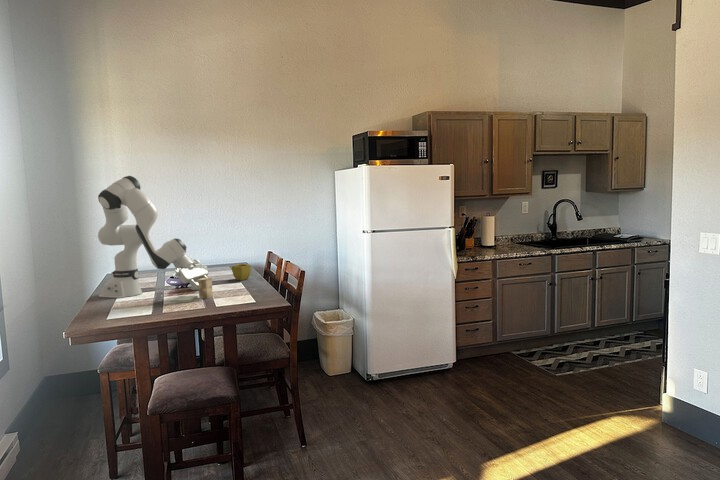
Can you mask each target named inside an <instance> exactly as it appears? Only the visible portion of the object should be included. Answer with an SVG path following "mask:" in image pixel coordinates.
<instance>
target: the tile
mask: <svg viewBox="0 0 720 480" xmlns="http://www.w3.org/2000/svg"><path fill="white" fill-rule="evenodd" d="M196 299H199V295H179V296H177V297H174V298H173V299H171V300H170V302H171V303H190V302H192V301H194V300H196Z"/></svg>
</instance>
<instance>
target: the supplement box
mask: <svg viewBox="0 0 720 480" xmlns="http://www.w3.org/2000/svg"><path fill="white" fill-rule="evenodd" d="M203 266H204V267H205V268H206V269H207V270H208V266H207V265H203ZM207 278H209V274H208V275H207ZM198 280H199V279H198ZM198 280H195V281H194V282H196V283H198ZM190 287H191V288H190V289H191V290H192V291H199V288H198V287H195V286H194V285H192V284H190Z"/></svg>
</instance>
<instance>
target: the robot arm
mask: <svg viewBox="0 0 720 480" xmlns="http://www.w3.org/2000/svg"><path fill="white" fill-rule="evenodd" d="M97 200H98V202H99V204H100V205H101V207H102V210H103V213H104V216H105V224H104V225H103V226H102V227H101V228H100V229H99V230H98V232H97V238H98V241H99V242H100V243H101V244H102V245H105V246H124V248H123V250H121V251H119V252H117V253H116V254H115V256H114V270H113V271H112V272H111V275H112V277H111V278H110V279H108V281H107V282H105V284H104V285H103V287H102V293H100V294H99V295H98V298H111V299H113V298H114V299H122V298H127V297H132V296H133V297H134V296H139V295H141V294H142V293H143V291H142V288H141V286H140V281H139V271H138V270H139V269H138V267H137V266H138V265H137V255H138V250H139V249H140V247H141V246H143V247H144V248H145V251H146V253H147V254H148V257H149V259H150V261H151V264H152V266H154V267H155V268H156V269H157V270H167V268H168V267H169V266H170V265H172V264H173V266H174V268H175V269H174V272H175V274H176V276H177V278H178V279H179V280H180V282H181V283H183V284H188V283H189V284H190V285H191V284H192V285H194V286H195V287H198V286H199V284H198V283H196V282H194V281H195V280H198V279H202V278H207V275H208V276H209V271H208V268H207V269H206V268H205V267H204V266H205V265H203V264H202V263H201V262H200V260H199V259H195V258H190V257H189V256H188V255H186V253H187V249H188V248H187V245H186V244H185V243H184V242H183V241H182V240H181V239H180V238H172V239H170V240H168V241H165V242H164V243H163V244H162V246H161V247H160V248H158V249H156V248H155V245H154V244H153V242H152V240H151V239H150V235H149V234H150V230H151V228H152V227H153V225H154V224H155V222H156V221H157V219H158V213H159V212H158V209H157V207H156V206H155V204H154V203H153V202H152V200H151V199H150V198H149V197H148V196H147V194H145V193H144V192H143V191H142V190H141V184H140V182H139V180H138V179H137V178H136V177H134V176H132V175H126V176H124V177H122V178H121V179H118V180H116V181H114V182H112V184H110V185H109V186H107V187H106V188H105V189H103V190H101V192H100V193H99V194H98V196H97ZM127 209H128V210H129V211H130V212H131V214H132V215H133V217H134V218H135V222H136V224H125V223H126V222H127V221H128V219H129V213H128V210H127Z"/></svg>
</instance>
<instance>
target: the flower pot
mask: <svg viewBox="0 0 720 480" xmlns="http://www.w3.org/2000/svg"><path fill="white" fill-rule="evenodd" d="M251 268H252V264H245V263H240V264H239V263H238V264H235V265H231V272H232V275H233V277H234V279H236V281H245V280H248V279H249V278H250V275H251V270H252V269H251Z"/></svg>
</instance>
